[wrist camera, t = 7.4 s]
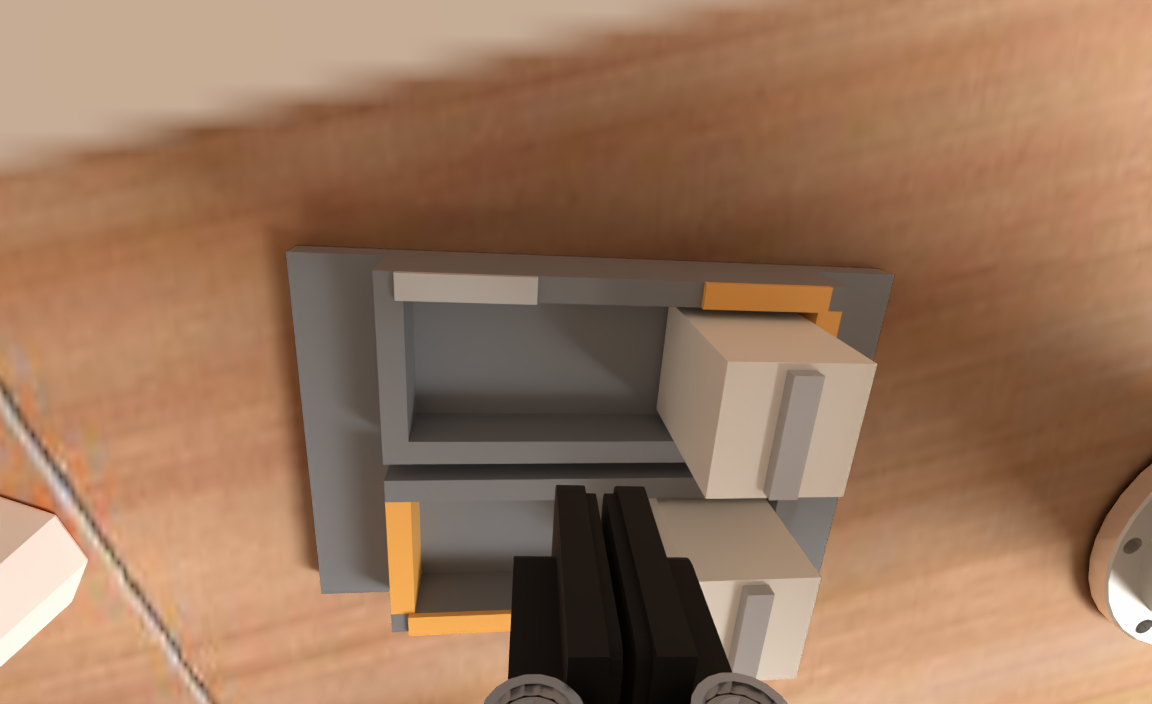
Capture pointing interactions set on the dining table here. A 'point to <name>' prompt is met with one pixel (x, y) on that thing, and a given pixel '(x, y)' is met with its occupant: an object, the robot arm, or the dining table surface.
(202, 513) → the dining table surface
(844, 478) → the off-white rectangular block
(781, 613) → the tab far
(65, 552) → the salt shaker
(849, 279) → the switch board
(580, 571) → the robot arm
